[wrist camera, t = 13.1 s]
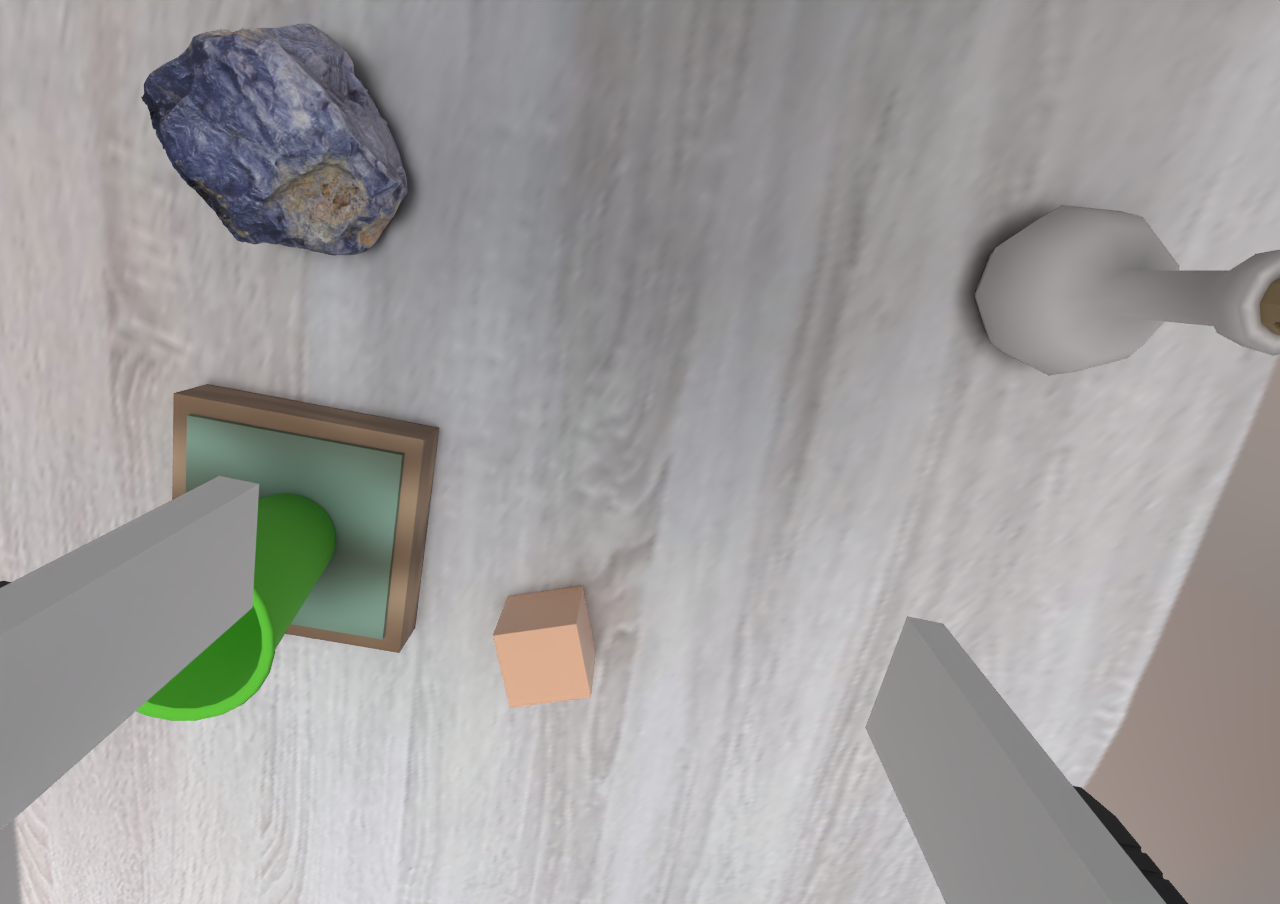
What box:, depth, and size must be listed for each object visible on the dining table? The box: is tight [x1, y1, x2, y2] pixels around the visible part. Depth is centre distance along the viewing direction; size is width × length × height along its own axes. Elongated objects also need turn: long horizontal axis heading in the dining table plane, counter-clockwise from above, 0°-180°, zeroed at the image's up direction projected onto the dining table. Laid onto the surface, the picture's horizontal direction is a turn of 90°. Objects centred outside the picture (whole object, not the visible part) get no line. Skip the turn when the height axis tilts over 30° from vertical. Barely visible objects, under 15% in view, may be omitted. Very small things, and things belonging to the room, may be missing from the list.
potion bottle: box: [974, 206, 1280, 375], centre depth 30 cm, size 9×9×18 cm
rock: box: [141, 24, 407, 255], centre depth 34 cm, size 11×10×10 cm
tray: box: [172, 384, 439, 653], centre depth 41 cm, size 14×14×3 cm
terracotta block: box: [493, 586, 596, 708], centre depth 42 cm, size 5×5×5 cm
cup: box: [136, 494, 335, 721], centre depth 34 cm, size 9×9×11 cm
